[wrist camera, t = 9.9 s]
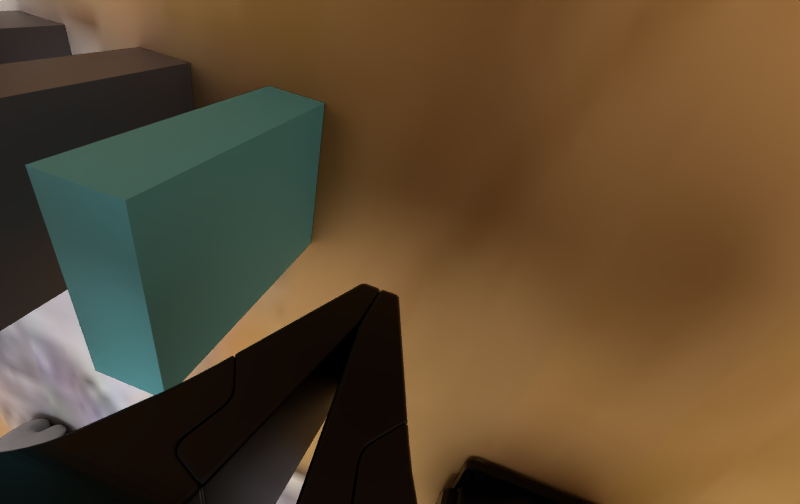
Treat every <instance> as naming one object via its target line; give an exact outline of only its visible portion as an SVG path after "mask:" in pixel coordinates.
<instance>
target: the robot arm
mask: <svg viewBox="0 0 800 504" xmlns="http://www.w3.org/2000/svg"><path fill="white" fill-rule="evenodd" d="M326 417H327V418H326ZM325 419H326V420H325ZM324 421H325V423H324V426H323V429H322V432H321V435H320V438H319V440H318V443H317V446H316V449H315V452H314V455H313V457H312V460H311V463H310V466H309V469H308V472H307V474H306V477H305V480H304V483H303V486H302V489H301V492H300V494H299V497H298V500H297V503H296V504H417V498H416V492H415V486H414V480H413V474H412V466H411V456H410V447H409V434H408V425H407V408H406V394H405V379H404V365H403V350H402V336H401V322H400V307H399V297H398V296H397V295H396V294H393V293H390V292H387V291H385V290H382V291H380V290H379V289H378V288H376V287H373V286H371V285H368V284H360V285H358V286H357V287H355V288H353V289H351V290H350V291H348V292H346V293H344V294H342V295H341V296H339V297H337V298H335V299H333V300H332V301H330V302H328V303H326V304H324V305H323V306H321V307H319V308H317V309H316V310H314V311H312V312H310V313H308V314H307V315H305V316H303V317H301V318H299V319H298V320H296V321H294V322H292V323H290V324H289V325H287V326H285V327H283V328H282V329H280V330H278V331H276V332H274V333H273V334H271V335H269V336H267V337H265V338H264V339H262V340H260V341H258V342H256V343H255V344H253V345H251V346H249V347H248V348H246V349H244V350H242V351H240V352H239V353H237V354H236V355H235V357H234V356H231V357H229V358H228V359H226V360H224V361H222V362H220V363H219V364H217V365H215V366H213V367H211V368H209V369H207V370H205V371H204V372H202V373H200V374H198V375H196V376H194V377H192V378H190V379H188V380H186V381H184V382H182V383H180V384H178V385H176V386H174V387H171V388H169V389H167V390H165V391H163V392H161V393H159V394H156V395H154V396H152V397H150V398H147V399H145V400H143V401H141V402H138V403H136V404H134V405H132V406H129V407H127V408H125V409H123V410H120V411H118V412H116V413H114V414H111V415H109V416H107V417H105V418H102V419H100V420H98V421H96V422H93V423H91V424H89V425H87V426H84V427H82V428H80V429H78V430H75V431H73V432H70V433H68V434H66V435H63V436H61V437H58V438H55V439H52V440H49V441H46V442H43V443H40V444H36V445H32V446H29V447H24V448H20V449H15V450H9V451H3V452H0V504H276V502H277V501H278V499H279V497H280V495H281V494H282V492H283V490H284V489H285V487H286V485H287V484H288V482H289V480H290V478H291V477H292V475H293V473H294V472H295V470H296V468H297V466H298V465H299V463H300V461H301V460H302V458H303V456H304V455H305V453H306V451H307V449H308V448H309V446H310V444H311V443H312V441H313V439H314V438H315V436H316V434H317V432H318V431H319V429H320V427H321V426H322V424H323V422H324ZM435 504H586V503H583V502H581V501H578V500H576V499H573V498H571V497H568V496H566V495H563V494H561V493H558V492H555V491H553V490H550V489H548V488H545V487H543V486H540V485H538V484H535V483H533V482H530V481H528V480H525V479H522V478H520V477H517V476H515V475H512V474H510V473H507V472H505V471H502V470H500V469H497V468H494V467H492V466H489V465H487V464H484V463H482V462H479V461H476V460H469V461H467V462H466V463H465V464H464V466H463V467H462V469H461V471H460V473H459V474H458V476H457V478H456V480H455V481H454V483H453V485H452V487H450V486H448V487H446V488H444V489H443V490H442V492H441V494H440V496H439V498H438V499H437V501H436V503H435Z"/></svg>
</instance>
